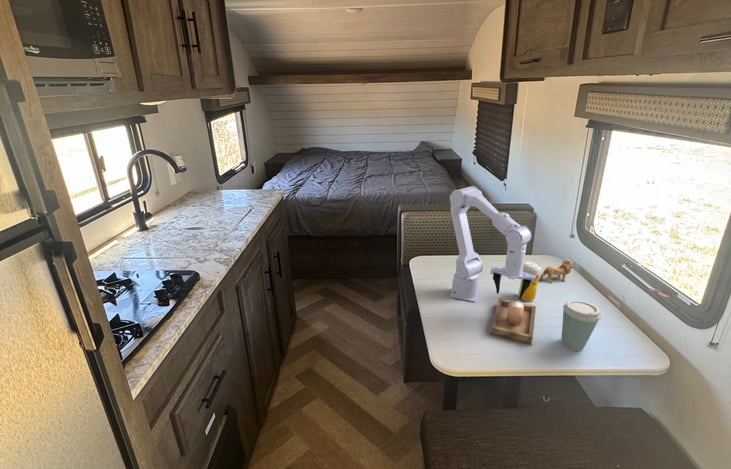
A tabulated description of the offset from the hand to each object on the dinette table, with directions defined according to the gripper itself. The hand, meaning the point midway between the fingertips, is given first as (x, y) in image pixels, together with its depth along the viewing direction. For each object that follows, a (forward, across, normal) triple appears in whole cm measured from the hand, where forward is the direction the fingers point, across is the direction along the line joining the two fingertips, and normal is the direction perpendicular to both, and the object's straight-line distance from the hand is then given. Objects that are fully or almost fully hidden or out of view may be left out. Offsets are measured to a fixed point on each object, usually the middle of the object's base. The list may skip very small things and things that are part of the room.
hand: (508, 294), depth 134 cm
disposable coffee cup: (+9, +22, -7) cm, 25 cm away
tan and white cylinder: (+8, +3, -4) cm, 9 cm away
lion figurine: (+10, +16, +38) cm, 42 cm away
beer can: (+10, +6, +17) cm, 20 cm away
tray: (+9, +3, -3) cm, 10 cm away
